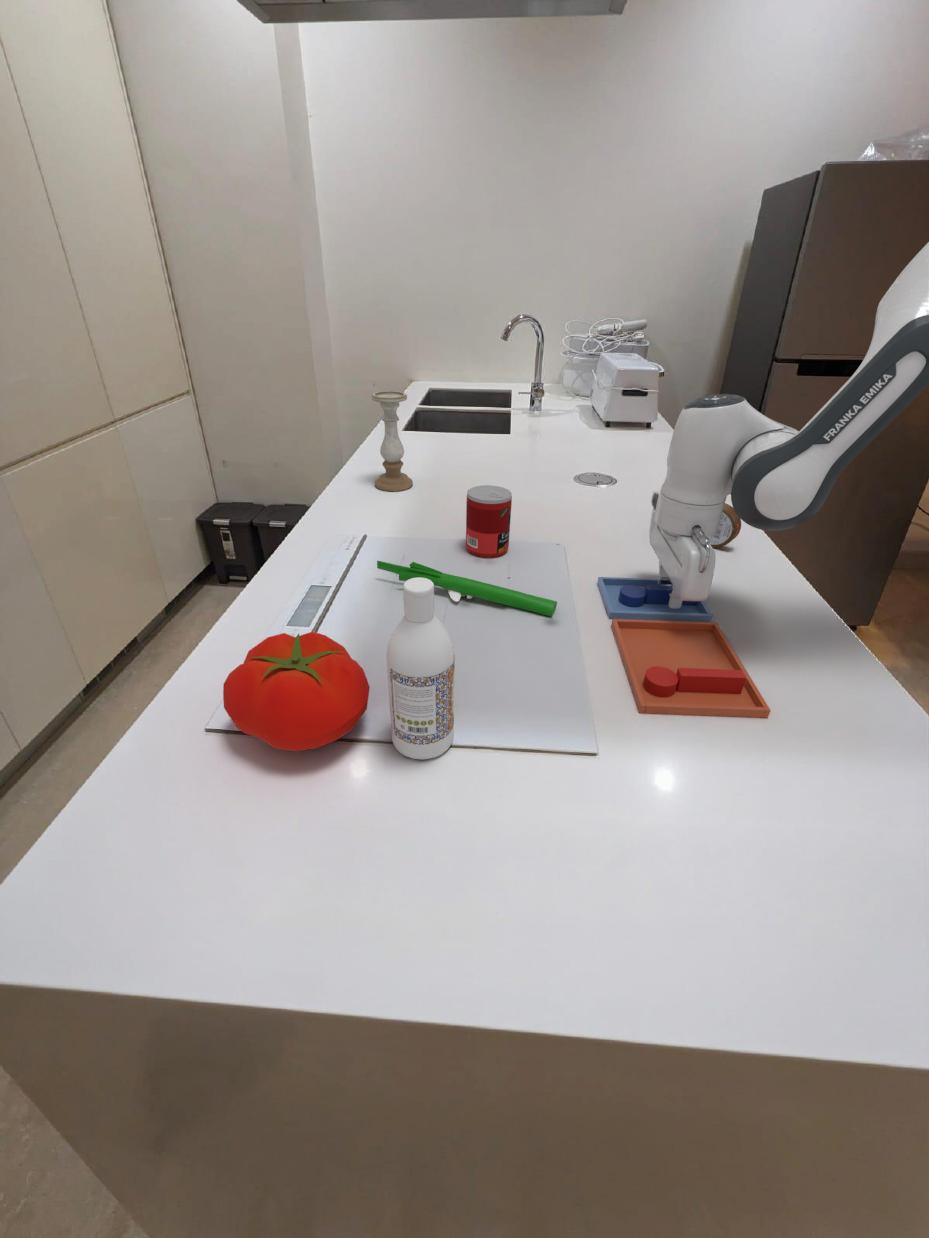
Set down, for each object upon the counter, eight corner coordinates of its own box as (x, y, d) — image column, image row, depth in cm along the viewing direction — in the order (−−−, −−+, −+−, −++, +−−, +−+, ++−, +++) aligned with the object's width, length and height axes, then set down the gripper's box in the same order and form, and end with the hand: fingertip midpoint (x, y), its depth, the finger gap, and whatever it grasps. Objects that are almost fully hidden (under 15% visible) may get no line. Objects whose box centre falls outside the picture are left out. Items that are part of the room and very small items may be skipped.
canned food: (506, 560, 104) (510, 501, 98) (462, 556, 105) (463, 498, 99) (510, 542, 110) (514, 486, 104) (468, 539, 111) (470, 483, 105)
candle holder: (420, 485, 136) (418, 394, 125) (391, 494, 131) (386, 400, 120) (395, 476, 141) (391, 388, 130) (367, 485, 136) (360, 394, 125)
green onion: (555, 614, 90) (384, 569, 98) (558, 596, 88) (383, 552, 96) (547, 630, 86) (370, 582, 95) (550, 611, 84) (369, 564, 93)
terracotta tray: (714, 631, 85) (717, 622, 84) (766, 720, 69) (770, 710, 68) (610, 627, 86) (612, 618, 85) (638, 715, 69) (641, 705, 68)
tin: (735, 548, 109) (747, 506, 105) (729, 554, 107) (742, 511, 103) (659, 527, 117) (668, 487, 113) (653, 532, 115) (661, 491, 111)
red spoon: (733, 680, 75) (738, 664, 73) (744, 700, 71) (750, 683, 70) (639, 676, 75) (643, 660, 74) (646, 696, 72) (650, 680, 70)
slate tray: (688, 588, 96) (690, 579, 95) (710, 624, 87) (713, 615, 86) (596, 585, 97) (598, 576, 96) (608, 621, 87) (610, 612, 86)
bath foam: (460, 755, 63) (463, 598, 53) (397, 767, 62) (387, 606, 51) (446, 714, 69) (446, 564, 58) (388, 723, 67) (377, 571, 57)
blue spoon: (691, 596, 93) (695, 582, 92) (698, 609, 90) (702, 595, 88) (616, 594, 93) (618, 580, 92) (620, 607, 90) (623, 592, 88)
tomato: (316, 791, 59) (304, 718, 53) (205, 734, 65) (184, 664, 60) (397, 710, 69) (394, 642, 64) (295, 668, 76) (284, 603, 71)
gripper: (736, 545, 75) (709, 634, 82) (689, 490, 92) (671, 567, 99) (686, 543, 75) (665, 632, 82) (649, 488, 92) (634, 566, 99)
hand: (668, 596), depth 91 cm, fingers open, 4 cm apart
